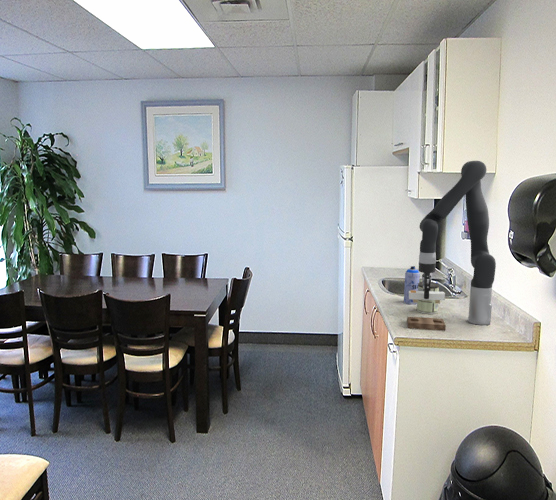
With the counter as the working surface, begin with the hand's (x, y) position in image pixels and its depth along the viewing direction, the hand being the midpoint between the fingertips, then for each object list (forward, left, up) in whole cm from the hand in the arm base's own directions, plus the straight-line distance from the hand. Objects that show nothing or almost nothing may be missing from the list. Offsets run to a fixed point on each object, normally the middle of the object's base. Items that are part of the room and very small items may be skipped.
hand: (425, 297), depth 227 cm
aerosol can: (+4, -32, -11) cm, 34 cm away
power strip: (0, 0, -3) cm, 3 cm away
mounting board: (0, +9, -11) cm, 14 cm away
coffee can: (-3, -17, -11) cm, 21 cm away
